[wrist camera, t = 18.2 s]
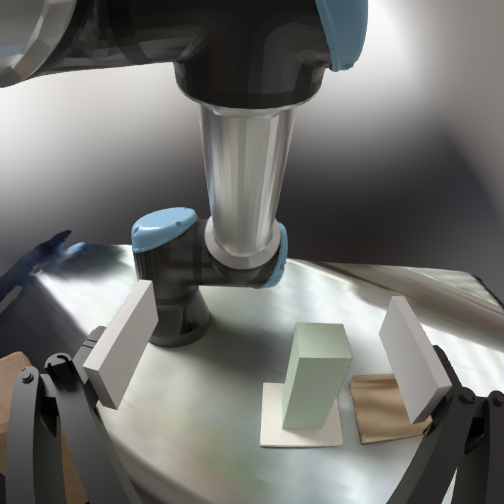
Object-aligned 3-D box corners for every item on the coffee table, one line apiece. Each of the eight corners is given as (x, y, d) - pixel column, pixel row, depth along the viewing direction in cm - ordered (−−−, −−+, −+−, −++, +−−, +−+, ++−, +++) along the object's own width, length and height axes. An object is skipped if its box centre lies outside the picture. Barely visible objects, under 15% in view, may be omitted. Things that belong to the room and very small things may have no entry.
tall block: (281, 397, 42) (296, 322, 35) (318, 398, 42) (343, 323, 35) (281, 428, 37) (299, 357, 30) (322, 428, 37) (352, 357, 29)
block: (83, 438, 31) (21, 345, 22) (117, 488, 25) (46, 412, 16) (35, 462, 24) (-44, 374, 15) (64, 516, 18) (-33, 448, 9)
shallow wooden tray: (349, 384, 45) (353, 375, 44) (413, 379, 44) (418, 371, 43) (361, 444, 34) (366, 437, 33) (432, 432, 33) (439, 424, 32)
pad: (263, 384, 45) (263, 382, 45) (333, 386, 45) (334, 383, 45) (260, 446, 34) (260, 444, 34) (342, 445, 34) (343, 443, 34)
